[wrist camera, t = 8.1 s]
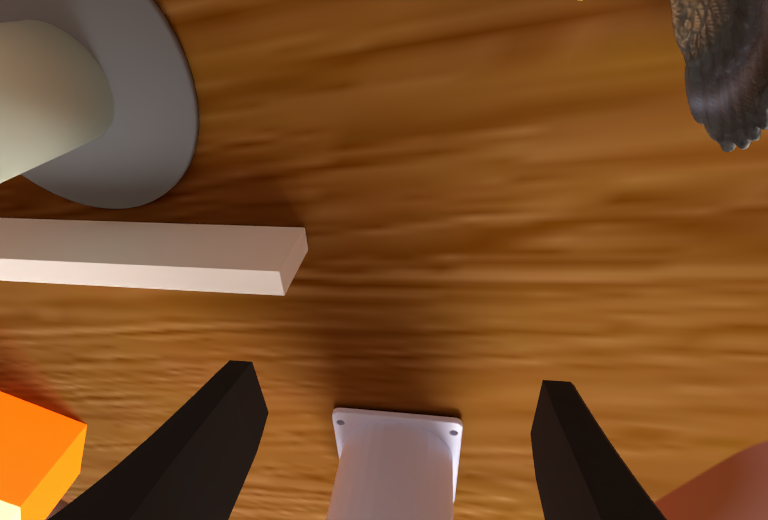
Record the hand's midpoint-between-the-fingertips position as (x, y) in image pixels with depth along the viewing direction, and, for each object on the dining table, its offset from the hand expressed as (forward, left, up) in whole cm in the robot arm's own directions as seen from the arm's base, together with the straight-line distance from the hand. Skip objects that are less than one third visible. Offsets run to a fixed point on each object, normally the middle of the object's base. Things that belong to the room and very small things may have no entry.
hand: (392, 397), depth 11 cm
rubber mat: (+6, +14, -9) cm, 18 cm away
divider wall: (-1, +14, -9) cm, 17 cm away
